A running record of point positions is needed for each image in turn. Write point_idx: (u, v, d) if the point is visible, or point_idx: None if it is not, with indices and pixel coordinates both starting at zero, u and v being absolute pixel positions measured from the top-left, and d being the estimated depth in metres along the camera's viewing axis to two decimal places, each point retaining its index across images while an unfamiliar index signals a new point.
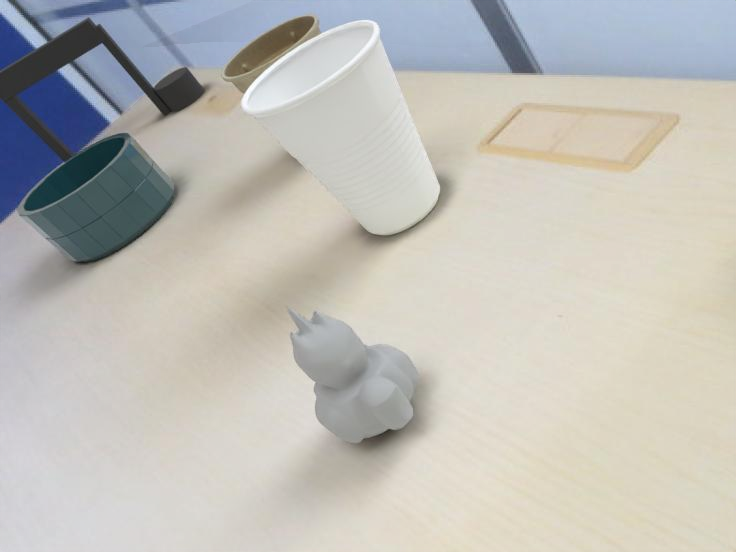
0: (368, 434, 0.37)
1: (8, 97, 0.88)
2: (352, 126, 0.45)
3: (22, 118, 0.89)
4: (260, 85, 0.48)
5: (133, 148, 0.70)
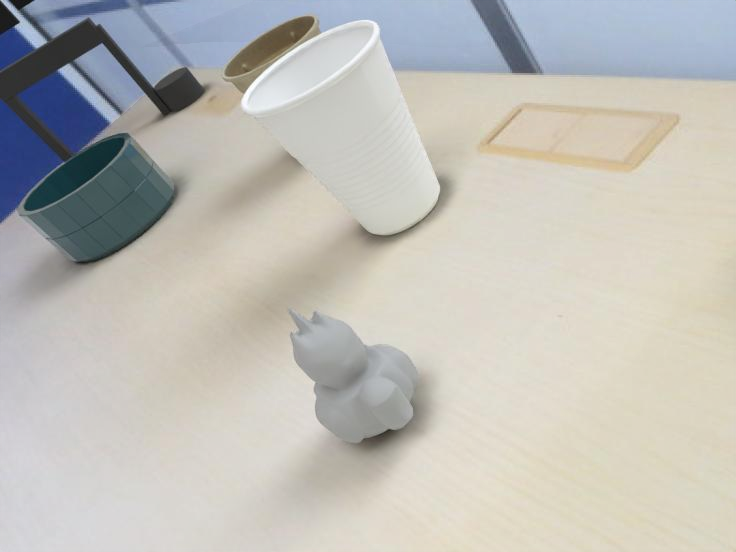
0: (368, 434, 0.37)
1: (8, 97, 0.88)
2: (352, 126, 0.45)
3: (22, 118, 0.89)
4: (260, 85, 0.48)
5: (133, 148, 0.70)
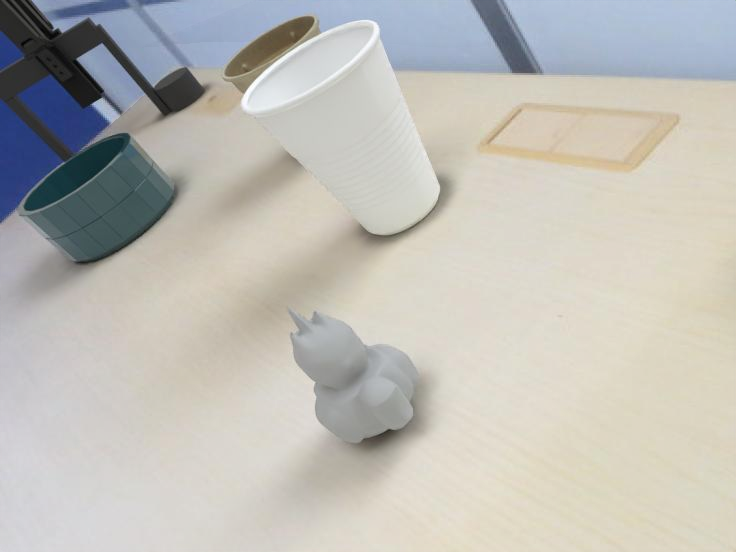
0: (368, 434, 0.37)
1: (8, 97, 0.88)
2: (352, 126, 0.45)
3: (22, 118, 0.89)
4: (260, 85, 0.48)
5: (133, 148, 0.70)
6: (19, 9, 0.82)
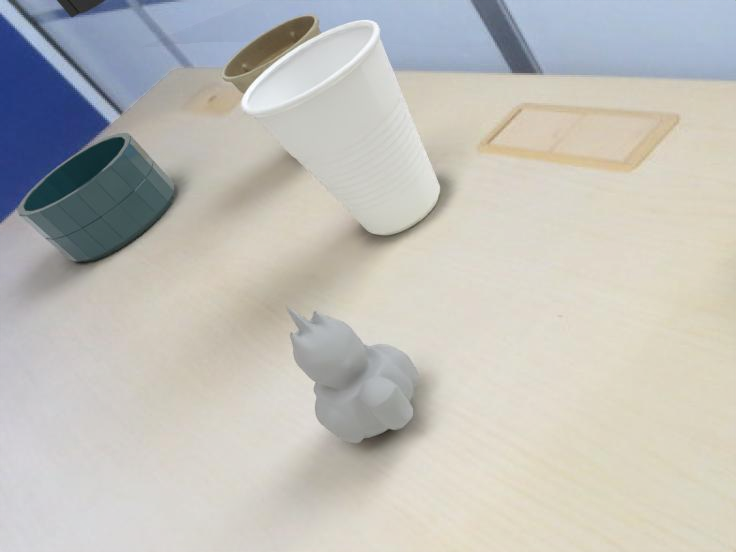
0: (368, 434, 0.37)
1: None
2: (352, 126, 0.45)
3: None
4: (260, 85, 0.48)
5: (133, 148, 0.70)
6: None
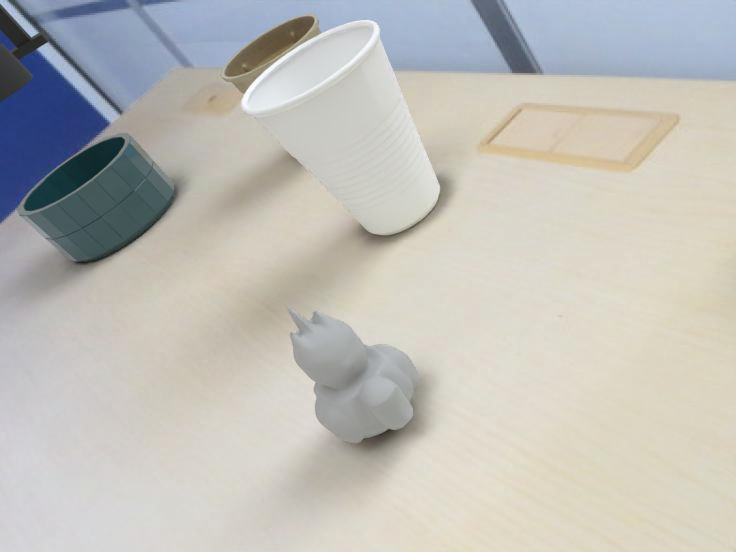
0: (368, 434, 0.37)
1: None
2: (352, 126, 0.45)
3: None
4: (260, 85, 0.48)
5: (133, 148, 0.70)
6: None
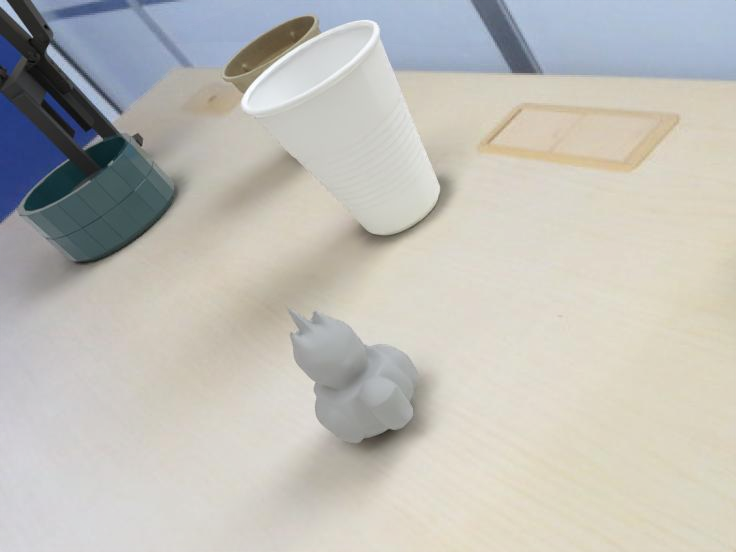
0: (368, 434, 0.37)
1: None
2: (352, 126, 0.45)
3: None
4: (260, 85, 0.48)
5: (133, 148, 0.70)
6: None
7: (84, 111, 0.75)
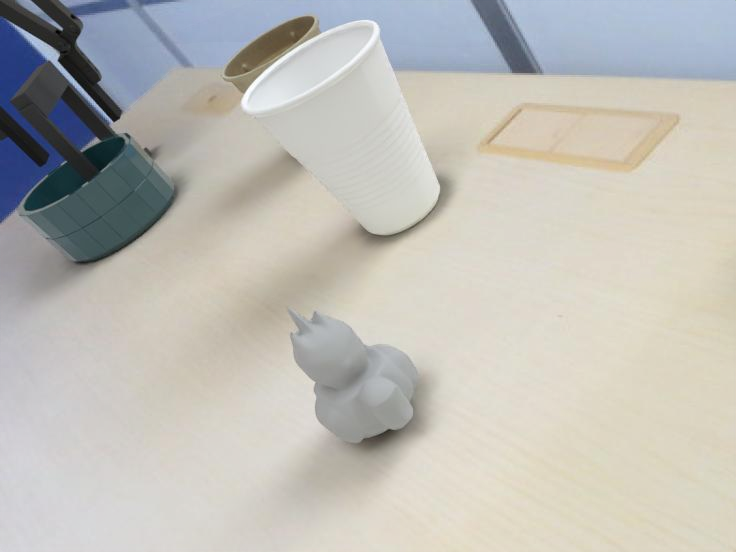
0: (368, 434, 0.37)
1: None
2: (352, 126, 0.45)
3: None
4: (260, 85, 0.48)
5: (133, 148, 0.70)
6: None
7: (112, 102, 0.76)
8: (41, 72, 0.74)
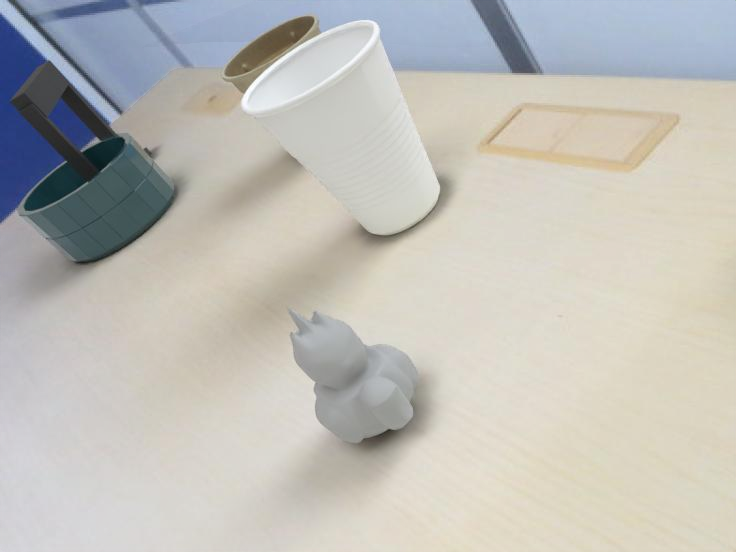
0: (368, 434, 0.37)
1: None
2: (352, 126, 0.45)
3: None
4: (260, 85, 0.48)
5: (133, 148, 0.70)
6: None
7: None
8: (41, 72, 0.74)
